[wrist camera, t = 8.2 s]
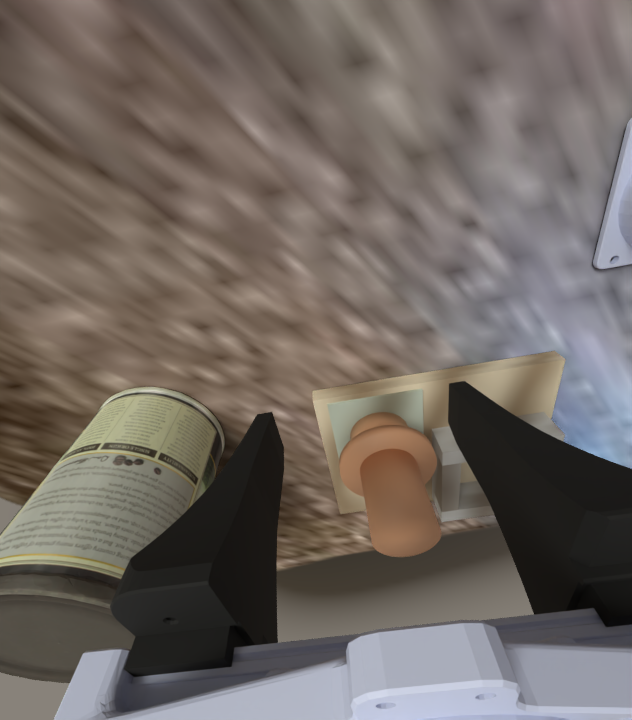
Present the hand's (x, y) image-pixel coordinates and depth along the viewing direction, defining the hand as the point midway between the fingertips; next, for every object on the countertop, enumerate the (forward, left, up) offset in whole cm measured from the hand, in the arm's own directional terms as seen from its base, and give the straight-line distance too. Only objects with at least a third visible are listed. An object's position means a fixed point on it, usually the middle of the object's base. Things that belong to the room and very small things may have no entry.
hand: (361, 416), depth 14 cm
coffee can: (+16, +8, -11) cm, 21 cm away
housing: (-6, +13, -10) cm, 18 cm away
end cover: (-2, +10, -9) cm, 14 cm away
